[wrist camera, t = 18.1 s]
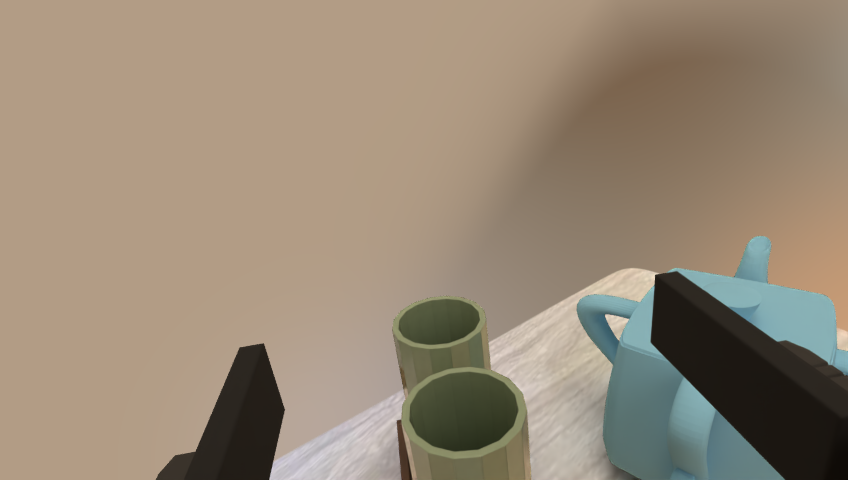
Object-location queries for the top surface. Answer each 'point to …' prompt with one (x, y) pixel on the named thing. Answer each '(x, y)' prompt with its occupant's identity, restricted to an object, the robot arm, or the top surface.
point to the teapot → (675, 396)
